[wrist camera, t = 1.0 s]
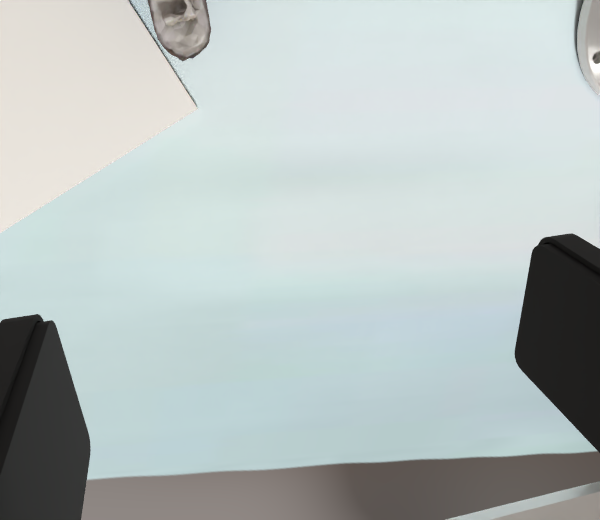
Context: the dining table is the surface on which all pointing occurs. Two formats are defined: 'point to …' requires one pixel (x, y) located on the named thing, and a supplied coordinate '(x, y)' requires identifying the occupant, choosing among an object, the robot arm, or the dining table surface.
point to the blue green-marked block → (181, 26)
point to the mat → (75, 95)
